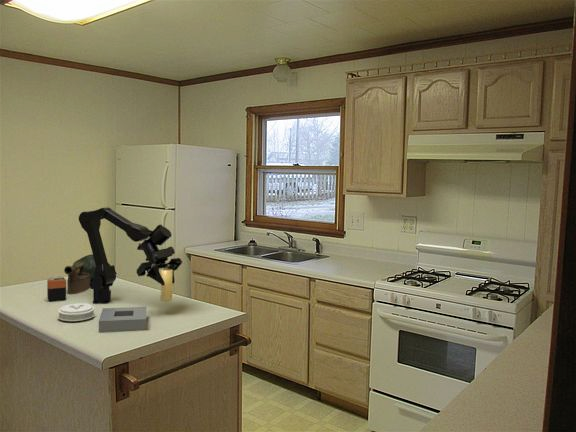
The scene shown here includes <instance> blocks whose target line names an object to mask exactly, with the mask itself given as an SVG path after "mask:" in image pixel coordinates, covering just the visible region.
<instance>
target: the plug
mask: <svg viewBox="0 0 576 432" xmlns="http://www.w3.org/2000/svg"><path fill="white" fill-rule="evenodd" d="M160 270H161V272H160V274H161V276H162V278H163V280H164V283H165V284H164V285H161V284H160V301H162V302H170V301H172V300H173V284H172V277H173V270H172V269H164V268H162V269H160Z"/></svg>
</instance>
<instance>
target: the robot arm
mask: <svg viewBox="0 0 576 432" xmlns="http://www.w3.org/2000/svg"><path fill="white" fill-rule="evenodd" d="M104 219H105V220H106V221H107V222H110V223H111V224H113V226H116V227H118V228H119V229H121V230H122V231H123V232H125V233H126V236H127V237H128V238H129V239H130V240H131V241H133V242H137V243H138V242H141V241H142V242H141V243H138V246H137V248H136V249H137V250H139V251H143V253H144V255H145V257H146V258H145V262H141V263H140V265H139V266H138V267H137V268H136V274H137V276H138V277H143V276H145V275H146V277H149V278H150V279H152V280H153V281H156V283H159V284H160V286H161V285H164V284H165V283H164V280H163V278H162V276H161V272H160V270H162V269H172V270H173V277H172V285H174V283H175V274H174V272H175V271H177V270H178V269H179V268H180V267H181V265H182V264H183V260H182V259H181V257H174V258H173V255H174V254H176V253H175V249H174V247H173V246H168V247H166V248H161V249H160V248H159V246H162V245H164V244H165V243H166V242H167V241H168V240H169V239H170V238H172V232H171V230H169V229H168V228H167V227H165V226H163V224H158V225H157V226H155V228H154V229H153V230H151V229H149V228H148V227H147V226H145V225H142V224H139V223H135V222H132V221H130V220H129V219H127V218H126V217H125V216H122V215H121V214H119V213H117V212H116V211H115V210H114V209H112V208H111V207H101V208H100V207H99V208H98V209H96V210H89V211H87V210H86V211H82V212H81V213H80V214H79V215H78V222H79V224H80V226H81V228H82V230H84V232H85V233H86V235H87V239H88V241H89V245H90V248H91V249H90V250H91V254H93V257H94V261H95V264H96V267H95V272H94V276H95V279H94V280H93V281H92V282H91V283H90V284H89V285H90V288H89V289H90V290H93V293H92V294H93V295H92V296H93V297H92V299H93V301H92V304H109V303H110V301H111V299H112V290H111V289H110V287H112V286H113V285H114V282H115V280H116V279H117V271H116V268H115V265H114V264H113V265H111V264H110V263H109V262H108V258H107V257H108V256H107V253H106V250H105V246H104V243H103V239H102V236H101V231H100V228H101V225H102V223H101V221H102V220H104ZM169 257H172V258H170V260H169Z"/></svg>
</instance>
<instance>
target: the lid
mask: <svg viewBox="0 0 576 432" xmlns="http://www.w3.org/2000/svg"><path fill="white" fill-rule="evenodd" d="M94 311H95V307H94V306H93V305H91V304H89V303H71V304H66V305H63V306H61V307H60V308H59V309H58V311H57V313H58V316H57V317H58V319H59V320H61V321H65V322H79V321H86V320H89V319H91V318H94V316H95V312H94Z"/></svg>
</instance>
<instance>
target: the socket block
mask: <svg viewBox="0 0 576 432" xmlns="http://www.w3.org/2000/svg"><path fill="white" fill-rule="evenodd" d="M147 310H148V309H147V306H132V307H131V306H128V307H125V306H123V307H105V308H104V307H103V308H102V310H101V312H100V316H99V319H98V333H108V332H109V333H112V332H130V331H147Z"/></svg>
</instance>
